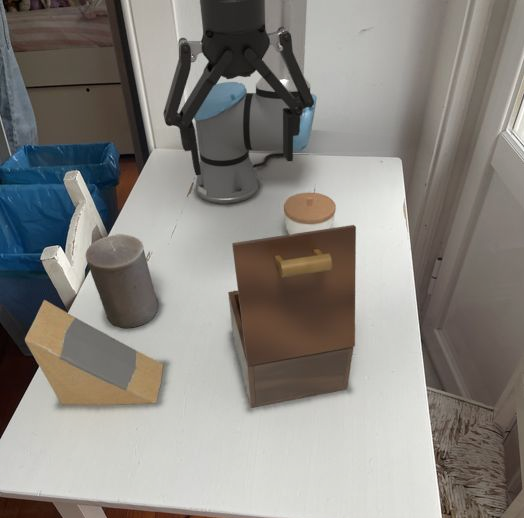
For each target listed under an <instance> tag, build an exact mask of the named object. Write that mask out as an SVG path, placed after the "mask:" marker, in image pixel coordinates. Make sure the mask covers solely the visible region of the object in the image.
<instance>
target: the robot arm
mask: <svg viewBox="0 0 524 518" xmlns="http://www.w3.org/2000/svg"><path fill="white" fill-rule="evenodd" d="M199 6H200V14H201V15H200V16H201V25H202V38H201V40H188V38H186V37H180V38H179V39H178V42H177V43H178V44H177V46H178V60H177V64H176V68H175V71H174V74H173V78H172V80H171V81H172V82H171V85H170V89H169V92H168V96H167V99H166V101H165V106H164V109H163V112H162V113H163V114H162V115H163V119H164V123H165V124H166V126H167V127H172V126H174V127H177V128H178V129H179V134H180V141H181V146H182V149H183V150H184V152H190V153H191V161H192V165H193V166H192V167H193V171H194V173H195V174H194V175H195V176H196V181H195V182H196V183H195V186H196V193H197V195H198V196H199V197H200V198H201V199H202V200H204V201H206V202H209V203H213V204H217V205H230V204H237V203H240V202H244V201H246V200H248V199H250V198H252V197H253V196H254V195H256V194H257V192H258V189H259V180H258V176H257V173H256V171H255V169H254V168H259V167H262V166H264V165H265V164H266V163H267V162H268V159H269V158H272V157H285V159H286V162H287V163H290V162H293V161H294V160H293V159H294V153H303V152H304V151H305V150H306V149H308V146H309V142H310V138H311V133H312V128H313V124H314V118H315V112H316V106H317V100H318V98H317V95H315V94H314V93H311V83H310V82H309V81H308V79H306V76H305V57H306V55H305V53H306V34H307V33H306V32H307V31H306V30H307V7H308V0H199ZM199 54H202V55H203V56H204V57H205V58H206V60H207V64H206V65H205V67H204V69H203V72H202V75H200V77H199V79H198V80H197V82H196V84H195V86H194V88H193V89H192V91H191V92H190V94H189V96H188V97H187V99H186V101H185V102H184V104H183V105H182V107H181V108H180V105H181V103H182V98H183V96H184V92H185V89H186V86H187V82H188V80H189V76H190V73H191V67H192V63H195V62H196V61H197V58H198V55H199ZM255 72H257V73H258V74H259V75H260V77H261V78H259V80H258V81H257V82H256V84H255V92H248V90H247V88H246V85H245V84H243V83H242V82H239V81H225V82H219V81H220V79H221V78H225V79H226V80H232V79H236V78H237V77H242V78H249V77H250V78H251V77H252V75H253V74H254V73H255ZM218 82H219V83H218ZM179 108H180V109H179ZM193 120H194V121H195V125H194V122H193ZM250 151H253V152H254V151H255V152H273V153H268V154H267V155H266V156H265V157H264V159H263V161H261V162H259V163H254V164H253V163H252V160H251V158H250ZM274 152H275V153H274Z"/></svg>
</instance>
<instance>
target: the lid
mask: <svg viewBox="0 0 524 518" xmlns="http://www.w3.org/2000/svg"><path fill="white" fill-rule="evenodd" d="M231 247H232V255H233V263H234V270H235V278H236V286H237V291H238V295H239V303H240V311H241V319H242V327H243V335H244V343H245V351H246V359H247V364H248V366H250V365H256V364H261V363H267V362H272V361H278V360H283V359H289V358H294V357H299V356H305V355H310V354H316V353H321V352H327V351H332V350H338V349H343V348H349V347H356V268H357V267H356V261H357V256H356V254H357V253H356V252H357V251H356V250H357V249H356V248H357V227H356V225H354V224H351V225H343V226H338V227H337V226H336V227H332V228H330V229H323V230H316V231H310V232H303V233H296V234H289V233H288V234H284V235H283V234H282V235H277V236H269V237H264V238H257V239H249V240H243V241H236V242H231Z"/></svg>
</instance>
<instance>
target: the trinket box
mask: <svg viewBox="0 0 524 518" xmlns="http://www.w3.org/2000/svg"><path fill="white" fill-rule="evenodd" d="M336 209H337V207H336V202H335V201H334V200H333V199H332V198H331V197H329V196H327V195H325V194H323V193H319V192H301V193H296V194H294V195H292V196H290V197H288V198H287V199H286V200H285V201H284V204H283V215H284V216H283V217H284V224H285V225H284V226H285V228H286V231H287V233H288V235H289V234H296V233H303V232H310V231H316V230H323V229H330V228H333V225H334V221H335V215H336V214H335V213H336Z"/></svg>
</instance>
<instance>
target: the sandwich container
mask: <svg viewBox="0 0 524 518" xmlns="http://www.w3.org/2000/svg"><path fill="white" fill-rule="evenodd" d="M24 342H25V345H26V346H27V347H28V349H29V351H30V353H31V355H32V356H33V357H34V359H35V361H36V363H37V364H38V366H39V368H40V370H41V372H42V373H43V375H44V377H45V378H46V381H47V382H48V383H49V385H50V387H51V389H52V391H53V392H54V394H55V395H56V398H57V399H58V401H59V402H60V404H61V405H64V406H65V405H66V406H112V405H114V406H115V405H137V404H138V405H140V404H141V405H142V404H145V405H146V404H157V401H158V397H159V392H160V388H161V385H162V377H163V370H164V369H163V368H164V363H162V362H160V361H157V360H156V359H154V358H152V357H150V356H148V355H146V354H145V353H142V352H141V351H138V350H136V349H134V348H133V347H131V346H129V345H127V344H126V343H123V342H121V341H119V340H117V339H116V338H114V337H112V336H110V335H108V334H107V333H105V332H103V331H101V330H99V329H97V328H96V327H94V326H92V325H90V324H88V323H86V322H84V321H83V320H81V319H79V318H77V317H75V316H73V315H72V314H71V313H68V312H67V311H65V310H63V309H62V308H60V307H58V306H56V305H54V304H53V303H51V302H49V301H48V300H46V299H43V301H42V304H41V305H40V307H39V309H38V312H37V313H36V316H35V318H34V320H33V322H32V324H31V326H30V327H29V330H28V332H27V334H26V335H25V338H24Z"/></svg>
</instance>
